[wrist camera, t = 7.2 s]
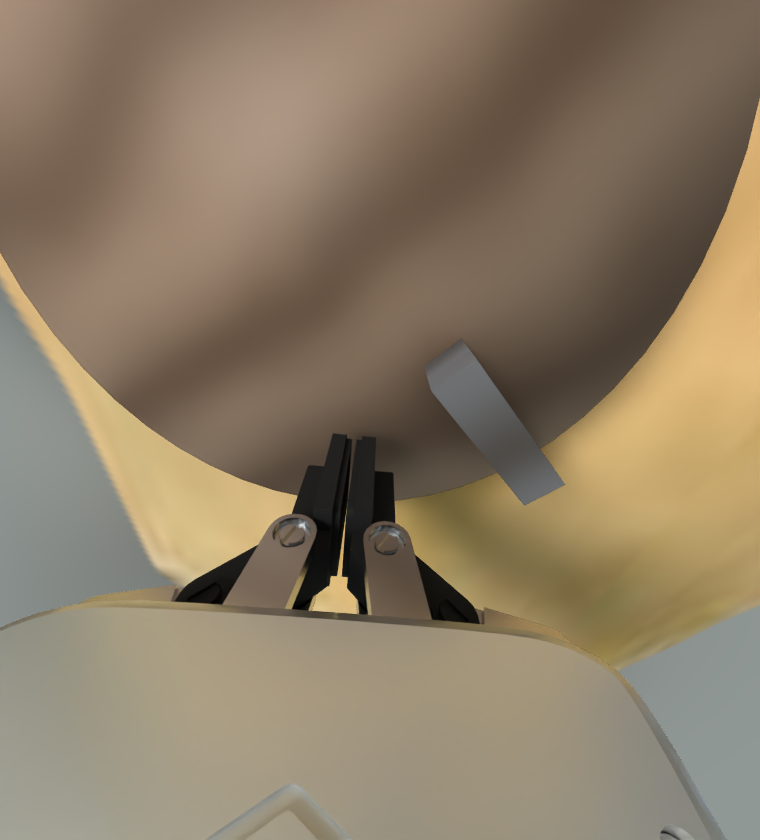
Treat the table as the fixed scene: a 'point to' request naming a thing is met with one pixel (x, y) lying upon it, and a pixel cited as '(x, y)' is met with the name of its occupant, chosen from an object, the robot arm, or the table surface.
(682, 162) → the turntable
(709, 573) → the table surface
